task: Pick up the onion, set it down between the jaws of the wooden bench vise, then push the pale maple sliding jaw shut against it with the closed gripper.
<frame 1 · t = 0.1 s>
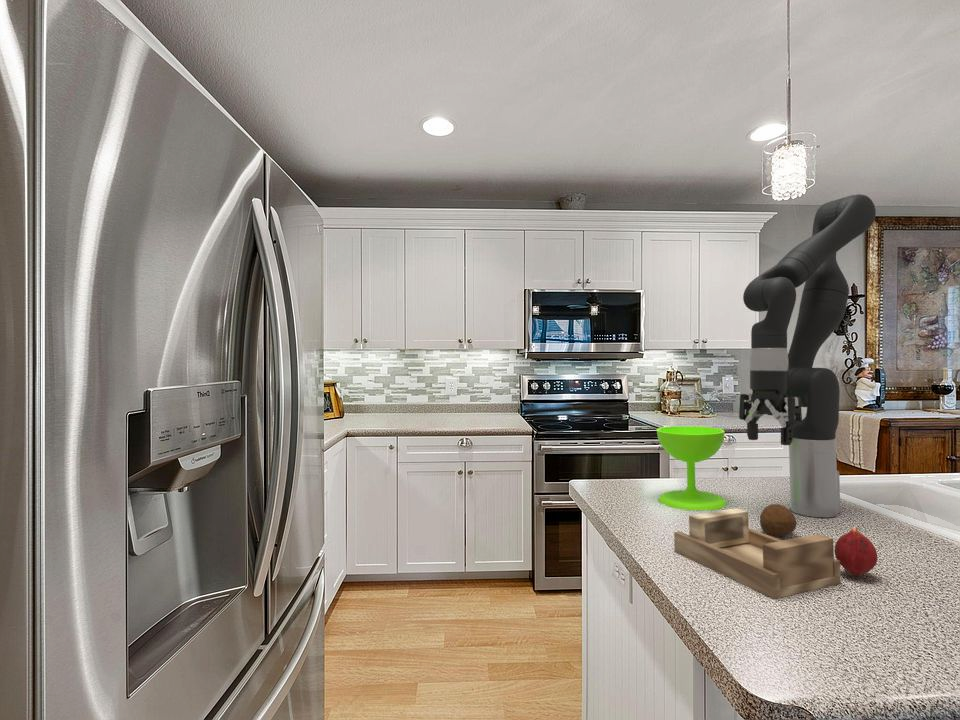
hand: (768, 442, 118), 17 cm above the table, tool pointing down, fingers open, 8 cm apart
wineglass: (691, 502, 135), on the table
jaw: (719, 529, 100), point 4 cm above the table, slide at 0.0 cm
vise base: (750, 565, 93), on the table
potato: (778, 536, 109), on the table
onion: (856, 577, 88), on the table
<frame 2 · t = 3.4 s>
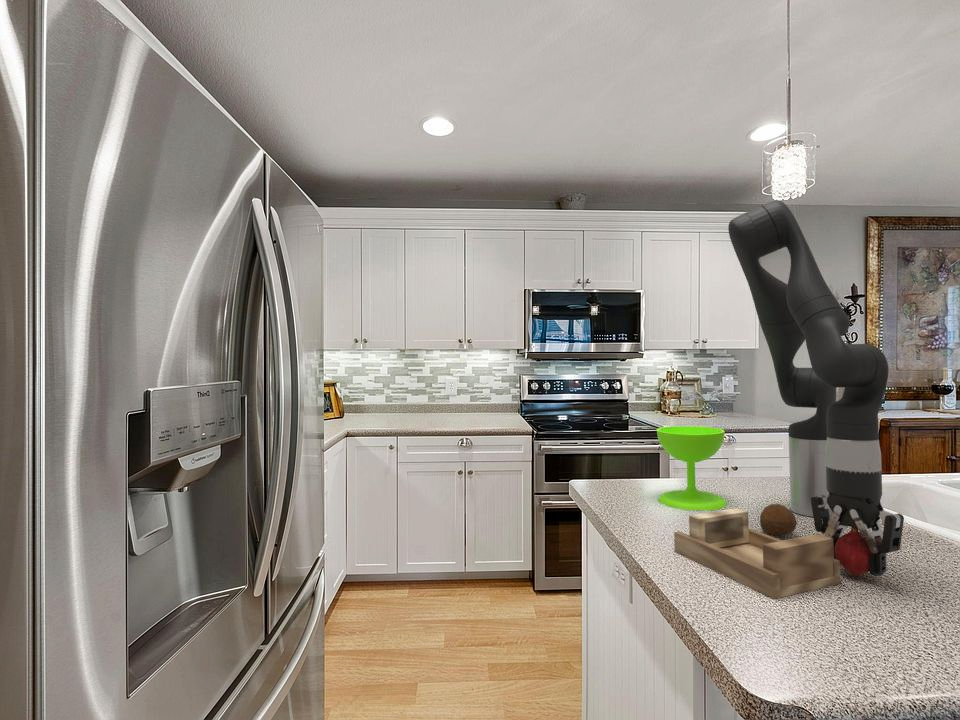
hand: (855, 567, 88), 1 cm above the table, tool pointing down, fingers closed on onion, 6 cm apart
onion: (856, 577, 88), on the table, touching gripper
everything else where it was.
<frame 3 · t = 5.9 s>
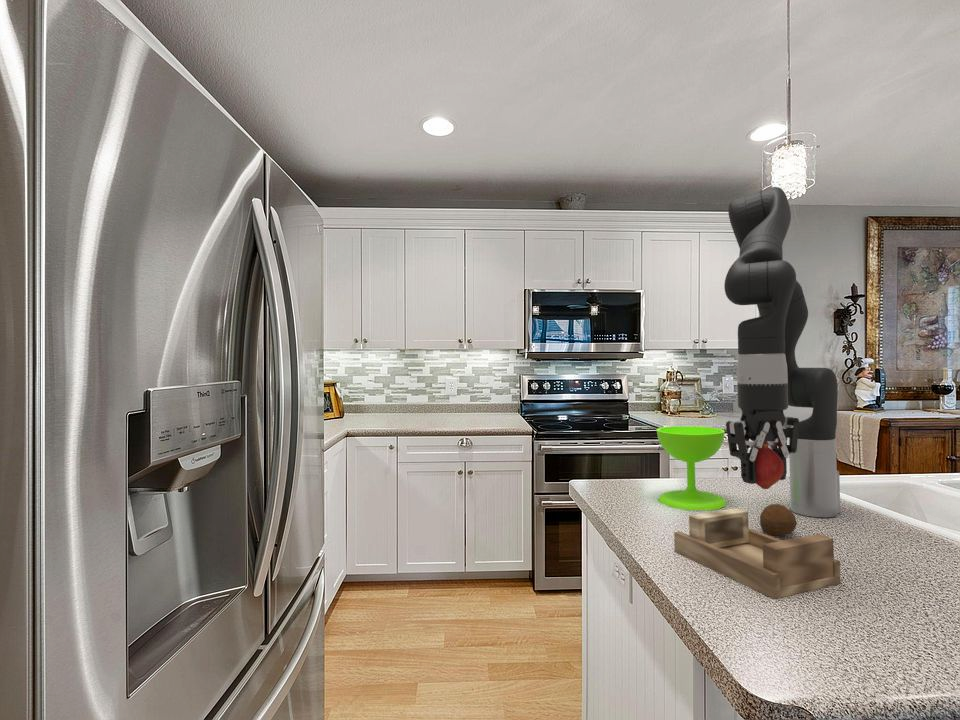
hand: (764, 480, 90), 16 cm above the table, tool pointing down, fingers closed on onion, 6 cm apart
onion: (764, 490, 90), point 14 cm above the table, touching gripper
everything else where it was.
when the fingers open (4 cm above the table, at t = 8.3 s): onion drops 1 cm, resting on vise base.
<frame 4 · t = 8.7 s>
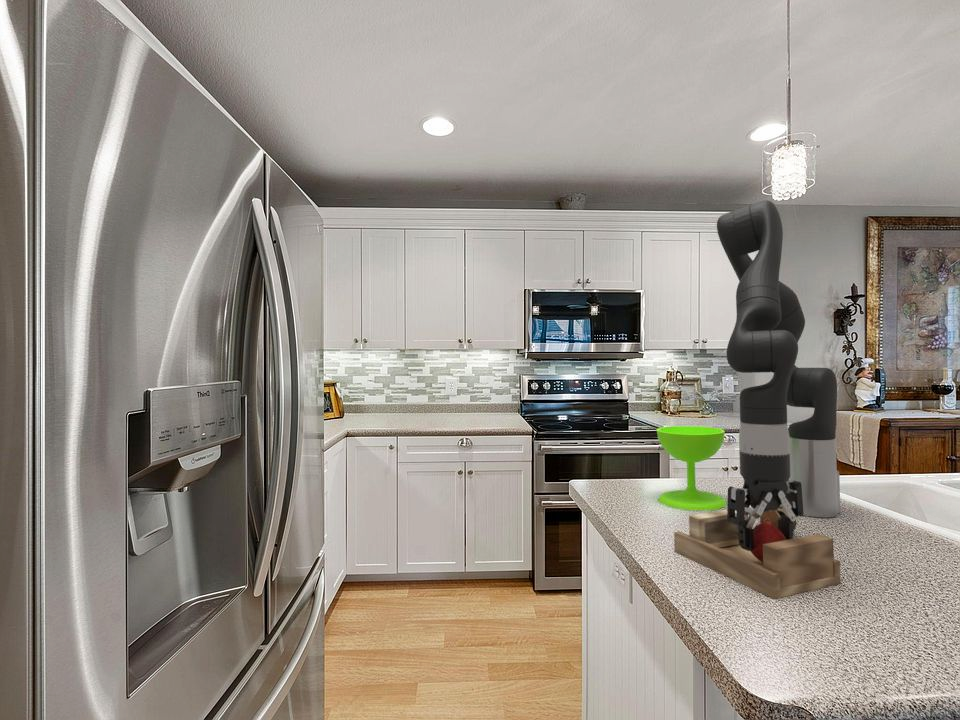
hand: (766, 545, 90), 5 cm above the table, tool pointing down, fingers open, 8 cm apart
onion: (767, 566, 90), point 1 cm above the table, touching vise base
everything else where it was.
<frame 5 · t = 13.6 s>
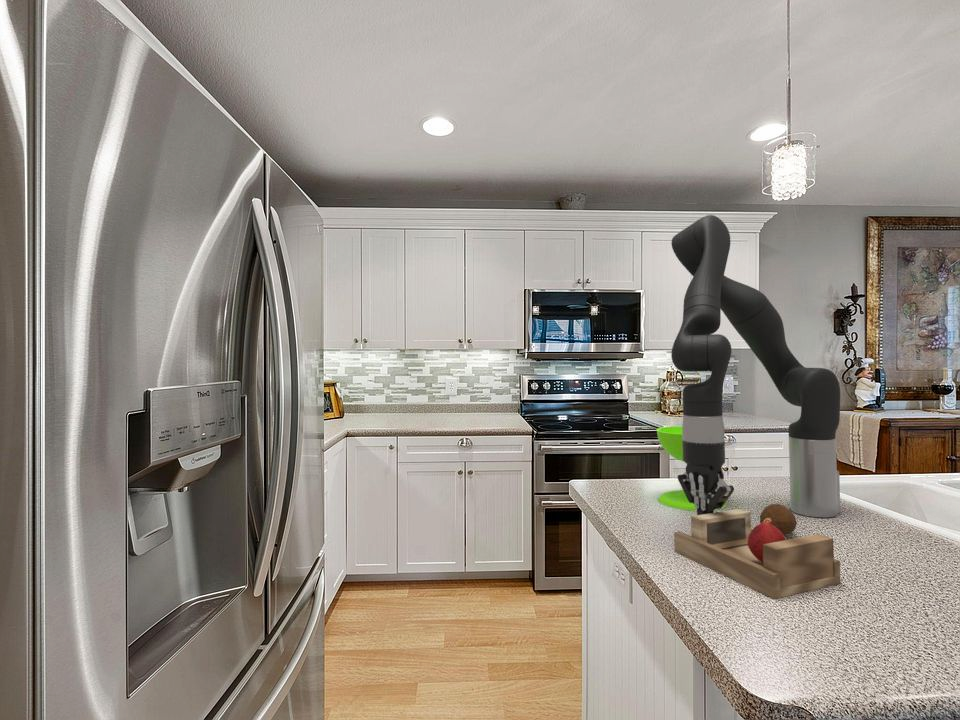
hand: (705, 528, 103), 4 cm above the table, tool pointing down, fingers closed
jaw: (721, 529, 99), point 4 cm above the table, slide at 0.5 cm, touching gripper
everything else where it was.
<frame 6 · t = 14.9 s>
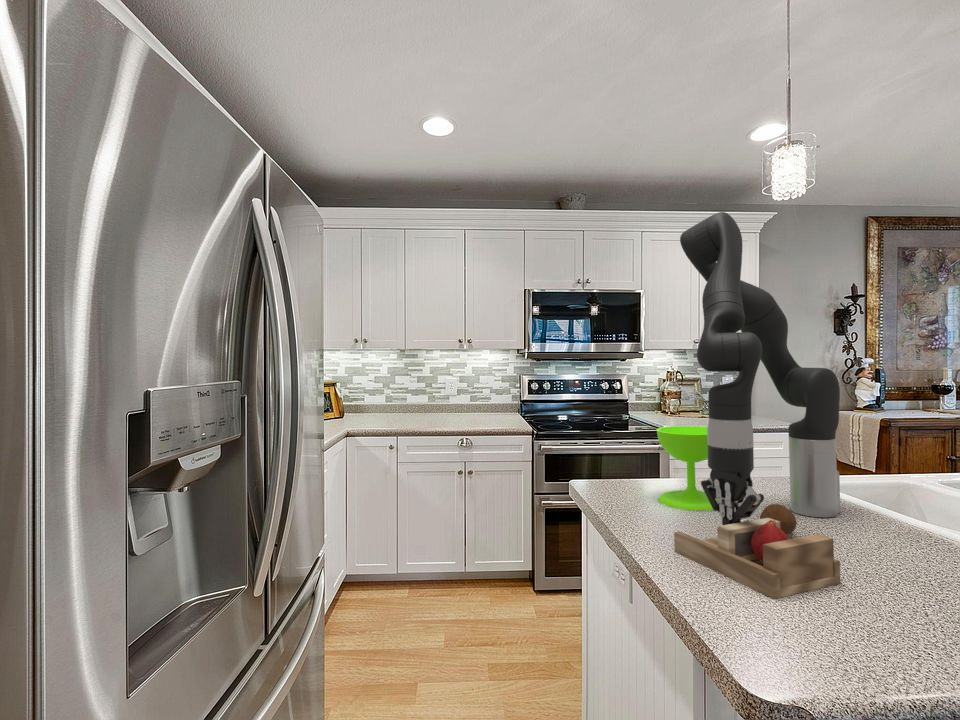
hand: (731, 538, 97), 4 cm above the table, tool pointing down, fingers closed
jaw: (749, 540, 93), point 4 cm above the table, slide at 6.9 cm, touching gripper, onion
onion: (770, 568, 90), point 1 cm above the table, touching jaw, vise base
everything else where it was.
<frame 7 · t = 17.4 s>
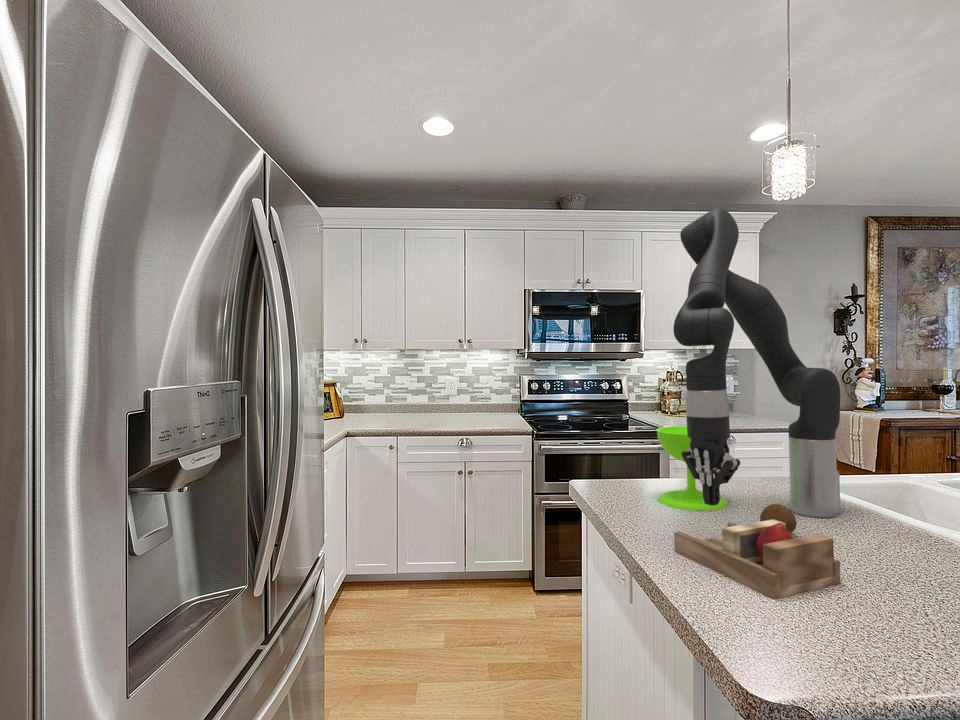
hand: (711, 504, 102), 8 cm above the table, tool pointing down, fingers closed
jaw: (754, 542, 92), point 4 cm above the table, slide at 8.0 cm, touching onion
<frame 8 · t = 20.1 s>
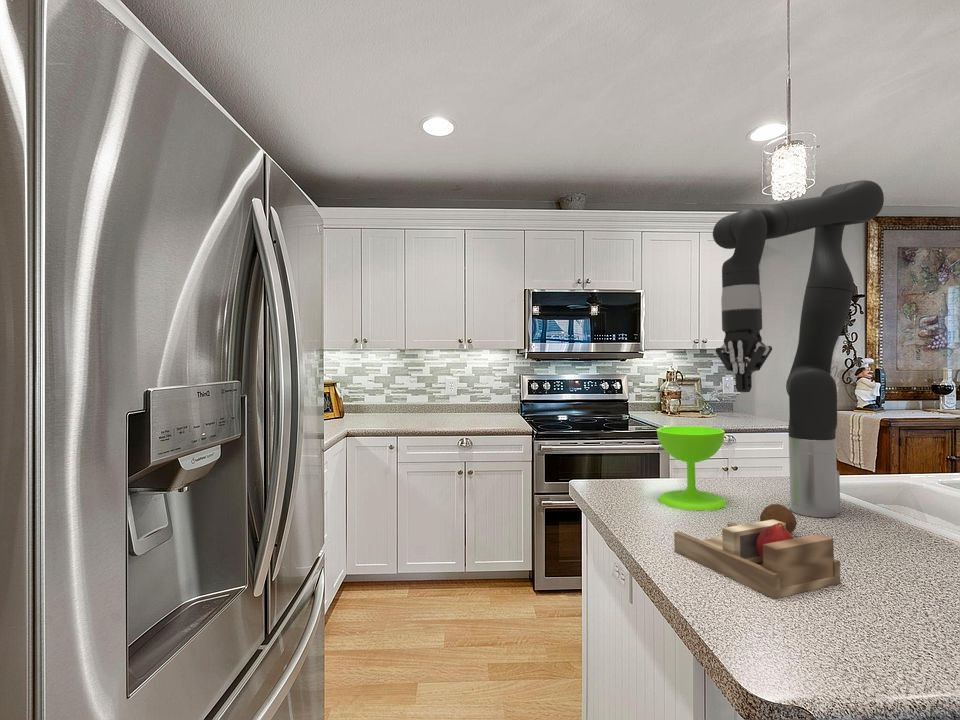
hand: (743, 391, 111), 29 cm above the table, tool pointing down, fingers closed
at the end: onion inside the target area on the vise base (1.4 cm from its centre), point 1.2 cm above the vise base's base; jaw slide at 8.0 cm; the gripper is holding nothing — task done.
